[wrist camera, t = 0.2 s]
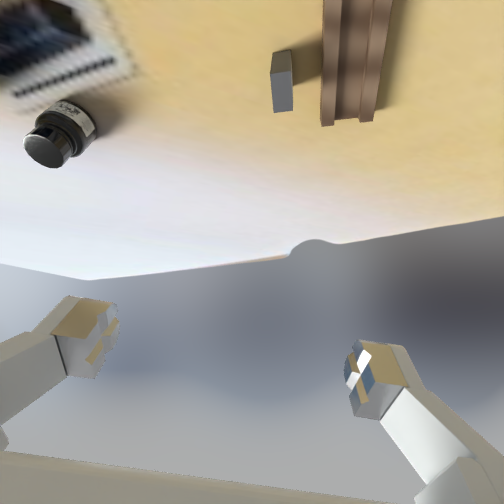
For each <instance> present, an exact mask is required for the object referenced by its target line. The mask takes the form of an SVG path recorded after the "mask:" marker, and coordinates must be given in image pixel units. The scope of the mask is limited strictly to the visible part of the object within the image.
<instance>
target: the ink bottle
mask: <svg viewBox="0 0 504 504" xmlns="http://www.w3.org/2000/svg"><path fill="white" fill-rule="evenodd" d="M96 134H97V129H96V125H95V122H94V120H93V118H92V117H91V116H90V114H89V113H88V112H87V111H85V110H84V109H83V108H81V107H80V106H78V105H77V104H74V103H72V102H69V101H58V102H56V103H55V104H53V105H52V106H50V107H49V108H48V109H47V110H45V111H44V112H43V113H42V114H40V115H39V116H38V117H37V119H36V121H35V129H33V130H32V131H31V132H30V133H29V134H27V135H26V136H25V137H24V140H23V145H24V148H25V150H26V151H27V153H28V155H30V156H31V157H32V158H33V159H34V160H35V161H36V162H38V163H40V164H41V165H43V166H46V167H49V168H59V167H61V166H62V165H63V164H64V163H65V162H66V161H67V160H68V159H69V157H77V156H79V155H81V154H82V153H83V152H84V151H85V149H86V148H87V147H88V146H89V145H90V144H91V143H92V142H93V140H94V139H95V137H96Z"/></svg>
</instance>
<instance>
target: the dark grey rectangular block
mask: <svg viewBox="0 0 504 504" xmlns="http://www.w3.org/2000/svg"><path fill="white" fill-rule="evenodd" d="M270 78H271V89H272V100H273V110H274V113H277V112H285V111H293V83H292V60H291V50H288V51H282V52H275V53H273V55H272V63H271V71H270Z"/></svg>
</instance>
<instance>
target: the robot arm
mask: <svg viewBox="0 0 504 504" xmlns="http://www.w3.org/2000/svg"><path fill="white" fill-rule="evenodd" d="M117 312H118V310H117V305H116V304H115V303H111V302H105V301H100V300H93V299H88V298H81V297H75V296H70V295H69V296H67V297H65V298H63V299H62V300H61V301H60V303H58V304H57V305H56V306H55V308H54V309H53V310H52V311H51V312H50V313H49V314H48V315H47V316H46V317H45V318H44V319H43V320H42V321H41V322H40V323H39V324H38V325H37V326H36V327H35V328H34V329H33V330H32V331H31V332H24V333H22V334H19V335H17V336H15V337H13V338H11V339H8V340H6V341H4V342H2V343H0V504H394V503H387V502H379V501H373V500H365V499H358V498H350V497H342V496H336V495H328V494H321V493H313V492H306V491H299V490H291V489H284V488H276V487H269V486H262V485H254V484H246V483H239V482H232V481H225V480H217V479H210V478H202V477H195V476H187V475H180V474H173V473H165V472H158V471H150V470H143V469H135V468H128V467H121V466H113V465H106V464H99V463H91V462H84V461H76V460H69V459H61V458H54V457H47V456H39V455H32V454H23V453H16V452H9V451H4V449H5V448H6V447H7V445H8V444H9V442H8V437H7V436H6V434H5V432H4V431H3V429H2V428H1V425H2V424H4V423H5V422H6V421H8V420H9V419H10V418H12V417H13V416H14V415H16V414H17V413H19V412H20V411H21V410H23V409H24V408H25V407H27V406H28V405H30V404H31V403H32V402H34V401H35V400H37V399H38V398H39V397H40V396H42V395H43V394H45V393H46V392H47V391H49V390H50V389H52V388H53V387H54V386H56V385H57V384H58V383H60V382H61V381H63V380H64V379H65V378H67V376H74V377H83V378H91V379H95V377H96V376H97V374H98V372H99V371H100V369H101V367H102V366H103V364H104V362H105V356H104V354H105V353H107V352H109V351H110V350H112V349H113V347H114V345H115V343H116V341H117V339H118V335H119V330H120V324H119V321H118V320H117V319H116V317H115V315H116V314H117ZM352 349H353V353H351V354H350V355H348V356H347V358H346V361H345V365H344V377H345V381H346V384H347V385H348V386H349V388H350V389H351V390H352V392H351V393H350V395H349V398H350V402H351V406H352V409H353V413H354V416H357V417H362V418H368V419H374V420H380V423H381V424H382V426H383V427H384V428H385V430H386V431H387V432H388V434H389V435H390V436H391V438H392V439H393V440H394V442H395V443H396V444H397V446H398V447H399V448H400V450H401V451H402V452H403V454H404V455H405V457H406V458H407V459H408V460H409V462H410V463H411V465H412V466H413V467H414V468H415V470H416V471H417V473H418V474H419V475H420V477H421V478H422V479H423V481H424V482H425V483H426V486H425V487H423V488H422V489H421V490H420V491H419V492H418V493H417V494H416V495H415V497H414V500H415V503H416V504H504V456H503V455H502V454H501V453H500V452H498V451H497V450H496V449H495V448H494V447H493V446H492V445H491V444H490V443H488V442H487V441H486V440H485V439H484V438H483V437H482V436H481V435H479V434H478V433H477V432H476V431H475V430H474V429H473V428H472V427H470V426H469V425H468V424H467V423H466V422H465V421H464V420H463V419H462V418H460V417H459V416H458V415H457V414H456V413H455V412H454V411H453V410H451V409H450V408H449V407H448V406H447V405H446V404H445V403H444V402H443V401H441V400H440V399H439V398H438V397H437V396H436V395H435V394H434V393H432V392H431V391H428V390H426V389H425V387H424V385H423V383H422V381H421V379H420V377H419V375H418V373H417V371H416V369H415V368H414V365H413V363H412V361H411V359H410V357H409V356H408V354H407V352H406V350H405V348H404V347H403V346H399V345H392V344H385V343H379V342H372V341H364V340H356V341H355V342H354V344H353V346H352Z"/></svg>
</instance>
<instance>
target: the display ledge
mask: <svg viewBox="0 0 504 504" xmlns="http://www.w3.org/2000/svg"><path fill="white" fill-rule="evenodd" d="M392 1H393V0H323V24H322V63H321V102H320V121H321V125H322V127H324V126H333V125H334V120H341V119H350V118H358V119H359V122H360V123H361V122H370V121H373V117H374V110H375V104H376V98H377V92H378V86H379V80H380V74H381V68H382V62H383V56H384V50H385V43H386V37H387V31H388V25H389V19H390V13H391V7H392Z"/></svg>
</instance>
